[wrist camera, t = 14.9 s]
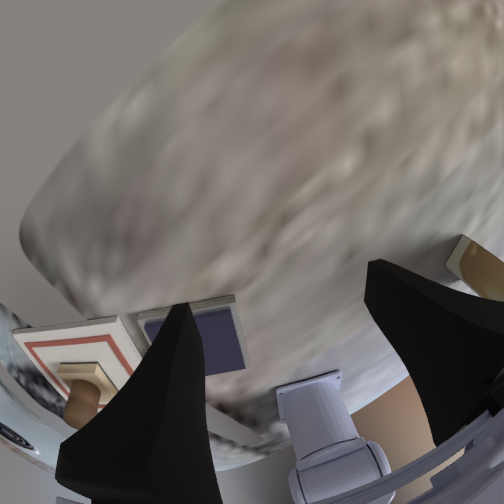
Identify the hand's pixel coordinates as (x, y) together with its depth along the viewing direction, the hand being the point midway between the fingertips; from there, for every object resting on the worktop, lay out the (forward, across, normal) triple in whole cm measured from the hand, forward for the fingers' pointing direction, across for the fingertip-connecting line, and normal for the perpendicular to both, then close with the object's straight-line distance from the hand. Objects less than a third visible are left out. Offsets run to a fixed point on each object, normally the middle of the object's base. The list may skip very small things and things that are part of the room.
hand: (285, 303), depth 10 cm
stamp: (+9, +19, +13) cm, 25 cm away
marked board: (+9, +19, +13) cm, 25 cm away
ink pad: (+9, +6, +10) cm, 15 cm away
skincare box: (+10, -24, +9) cm, 27 cm away
